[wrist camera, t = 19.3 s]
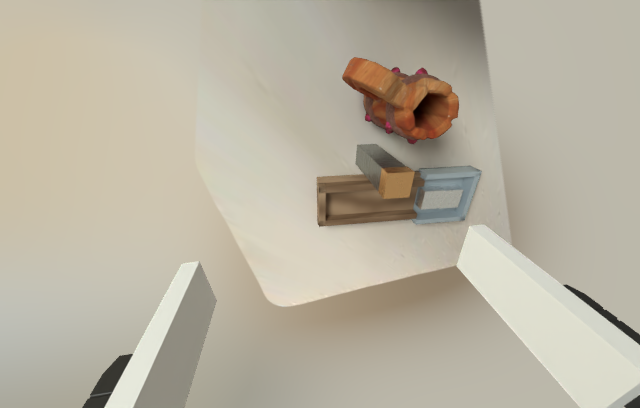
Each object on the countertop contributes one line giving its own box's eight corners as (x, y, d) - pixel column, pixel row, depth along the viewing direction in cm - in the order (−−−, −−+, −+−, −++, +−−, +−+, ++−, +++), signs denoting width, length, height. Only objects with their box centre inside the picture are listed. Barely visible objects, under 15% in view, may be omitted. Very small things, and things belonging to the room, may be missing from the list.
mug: (420, 90, 38) (492, 98, 25) (392, 136, 41) (442, 164, 28) (345, 39, 33) (385, 15, 20) (319, 94, 36) (339, 105, 23)
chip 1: (418, 186, 46) (425, 191, 44) (437, 185, 47) (444, 190, 45) (414, 203, 48) (420, 209, 46) (432, 202, 49) (439, 208, 46)
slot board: (316, 177, 43) (318, 183, 40) (418, 171, 45) (426, 176, 43) (317, 222, 48) (319, 229, 45) (409, 214, 50) (415, 221, 48)
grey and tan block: (357, 144, 41) (387, 173, 29) (376, 143, 41) (414, 172, 29) (355, 164, 43) (383, 198, 30) (374, 163, 43) (409, 197, 31)
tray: (418, 168, 45) (427, 174, 42) (470, 165, 46) (481, 171, 44) (408, 216, 50) (415, 224, 48) (455, 212, 52) (464, 220, 49)
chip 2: (437, 185, 47) (444, 190, 45) (455, 184, 47) (463, 189, 45) (432, 202, 49) (439, 208, 46) (450, 201, 49) (457, 207, 47)
